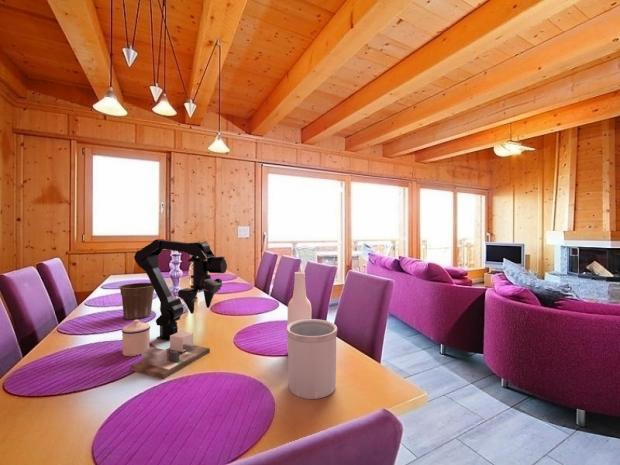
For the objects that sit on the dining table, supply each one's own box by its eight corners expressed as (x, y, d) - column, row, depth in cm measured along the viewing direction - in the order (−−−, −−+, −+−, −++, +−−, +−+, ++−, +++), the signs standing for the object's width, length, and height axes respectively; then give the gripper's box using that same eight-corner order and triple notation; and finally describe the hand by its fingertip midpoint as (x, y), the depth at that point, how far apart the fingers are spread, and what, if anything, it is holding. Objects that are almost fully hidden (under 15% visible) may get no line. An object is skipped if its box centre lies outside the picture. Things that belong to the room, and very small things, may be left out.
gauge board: (131, 370, 93) (131, 353, 93) (180, 346, 113) (180, 332, 112) (163, 378, 88) (164, 360, 88) (209, 352, 108) (209, 337, 107)
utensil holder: (296, 406, 75) (297, 339, 75) (279, 379, 89) (280, 322, 89) (346, 394, 81) (346, 331, 81) (322, 370, 95) (323, 316, 95)
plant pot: (135, 311, 160) (135, 281, 159) (162, 312, 157) (162, 282, 157) (111, 320, 144) (111, 287, 143) (140, 322, 141) (140, 288, 141)
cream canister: (155, 349, 110) (155, 318, 110) (132, 358, 102) (132, 325, 101) (134, 343, 115) (134, 314, 115) (111, 352, 107) (111, 320, 106)
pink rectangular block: (170, 349, 105) (170, 335, 105) (180, 344, 110) (180, 331, 110) (191, 353, 102) (191, 339, 102) (201, 348, 106) (201, 334, 106)
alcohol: (299, 346, 113) (300, 270, 113) (316, 353, 107) (316, 272, 107) (282, 353, 107) (282, 272, 107) (298, 361, 101) (299, 275, 101)
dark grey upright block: (169, 360, 96) (169, 351, 96) (172, 359, 98) (172, 350, 98) (175, 362, 95) (175, 353, 95) (179, 360, 96) (179, 351, 96)
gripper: (200, 277, 108) (199, 319, 108) (230, 270, 125) (230, 306, 125) (176, 275, 112) (176, 315, 112) (209, 269, 129) (209, 304, 129)
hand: (200, 310), depth 120 cm, fingers open, 9 cm apart
